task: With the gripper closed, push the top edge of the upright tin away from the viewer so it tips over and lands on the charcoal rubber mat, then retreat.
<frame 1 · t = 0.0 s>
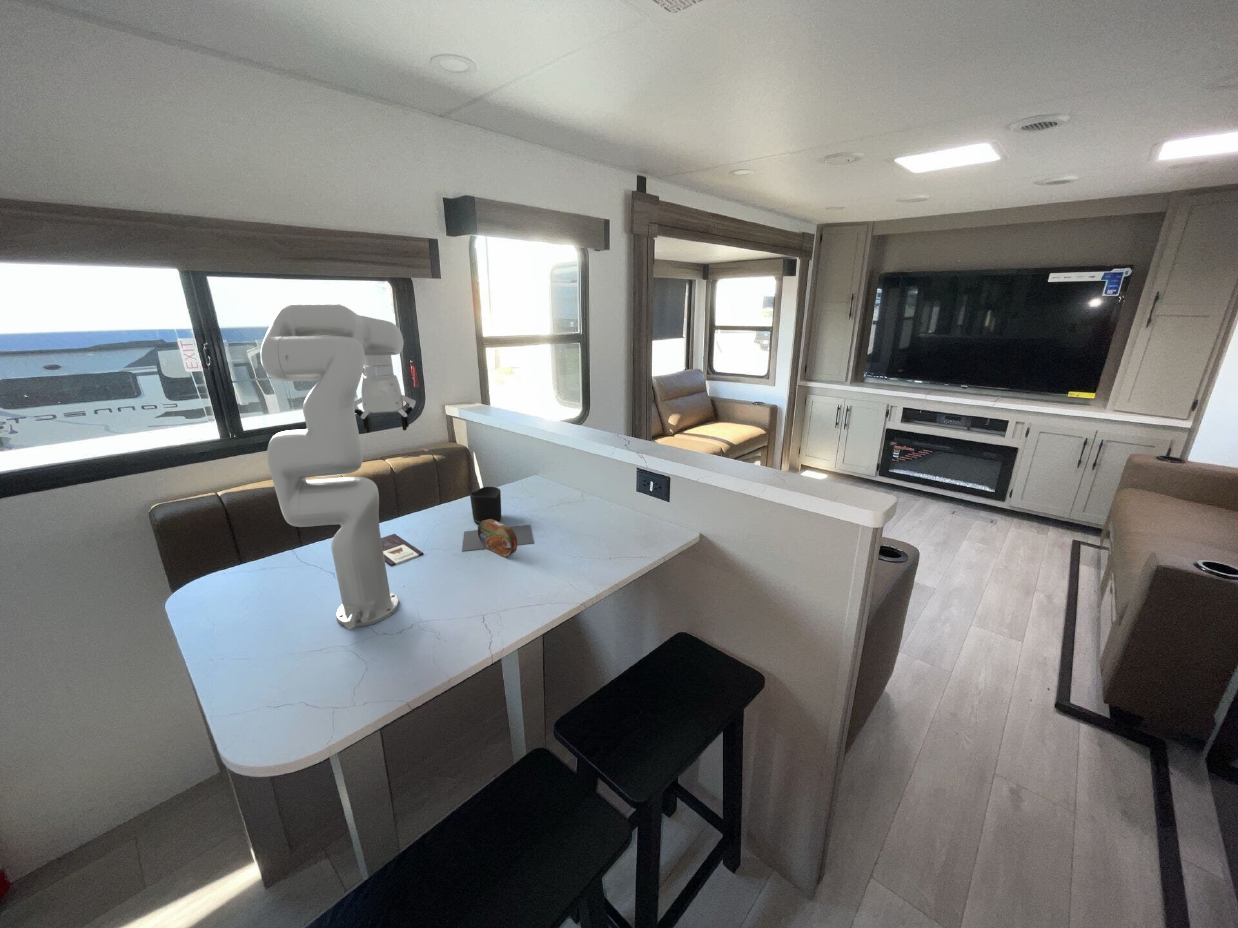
hand: (387, 430, 141), 31 cm above the table, fingers open, 9 cm apart
tin: (498, 550, 136), on the table, touching mat
mat: (498, 537, 144), on the table
pen holder: (487, 521, 156), on the table
chocolate bar: (393, 551, 137), on the table
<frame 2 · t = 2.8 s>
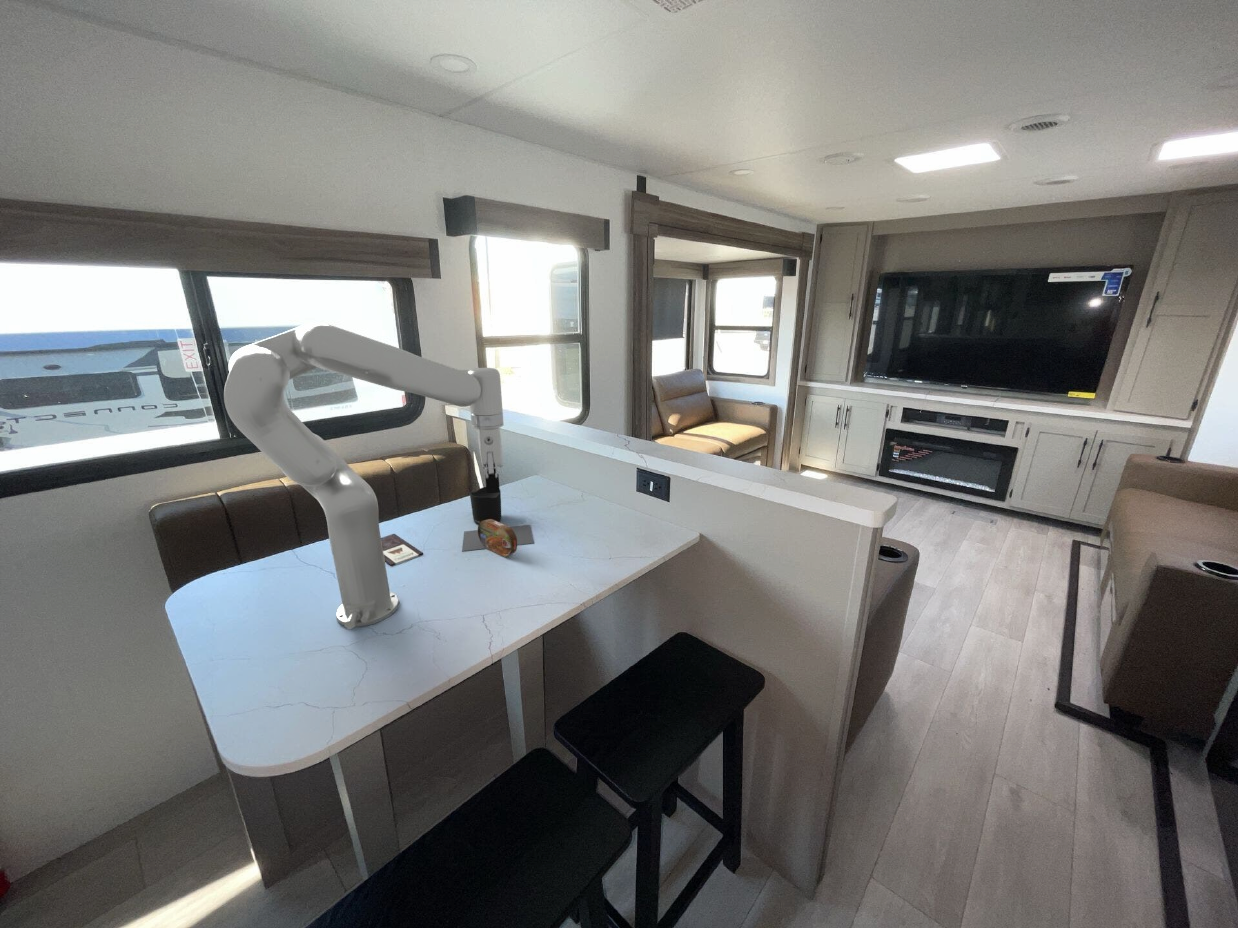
hand: (493, 490, 122), 21 cm above the table, fingers closed
nothing on the table moved.
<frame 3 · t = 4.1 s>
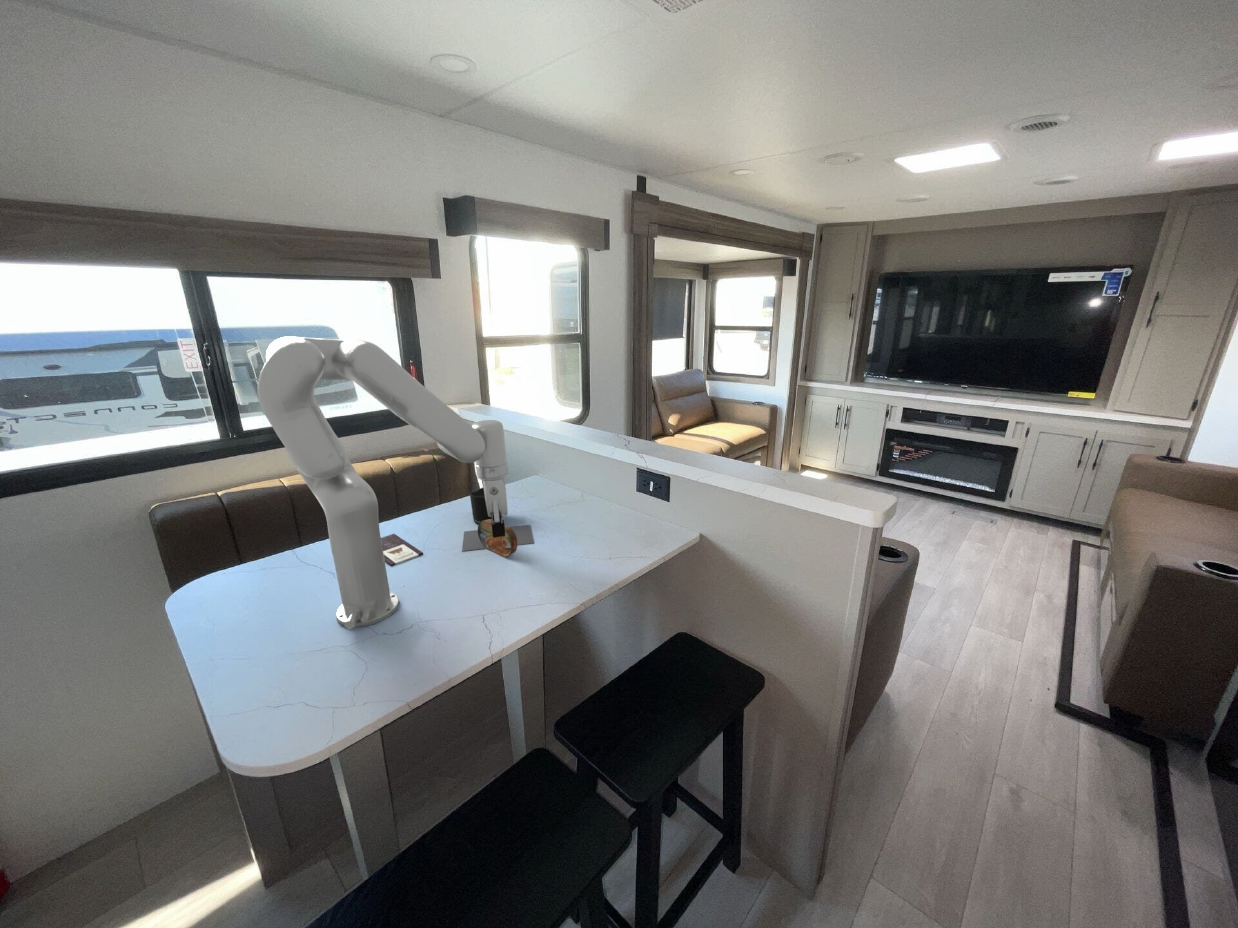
hand: (499, 535, 126), 8 cm above the table, fingers closed
nothing on the table moved.
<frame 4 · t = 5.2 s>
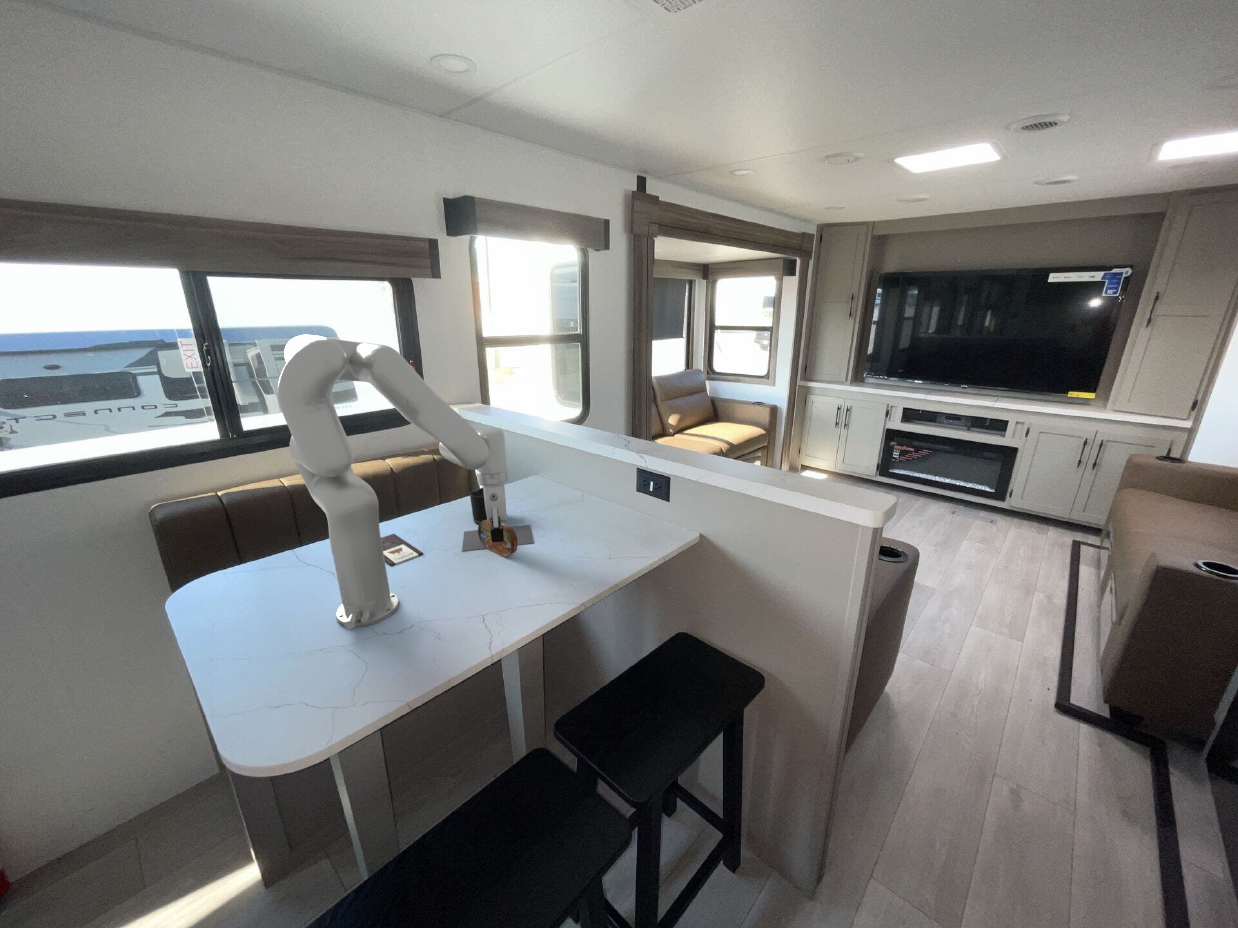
hand: (497, 540, 129), 6 cm above the table, fingers closed
tin: (498, 550, 136), on the table, touching gripper, mat
everything else where it was.
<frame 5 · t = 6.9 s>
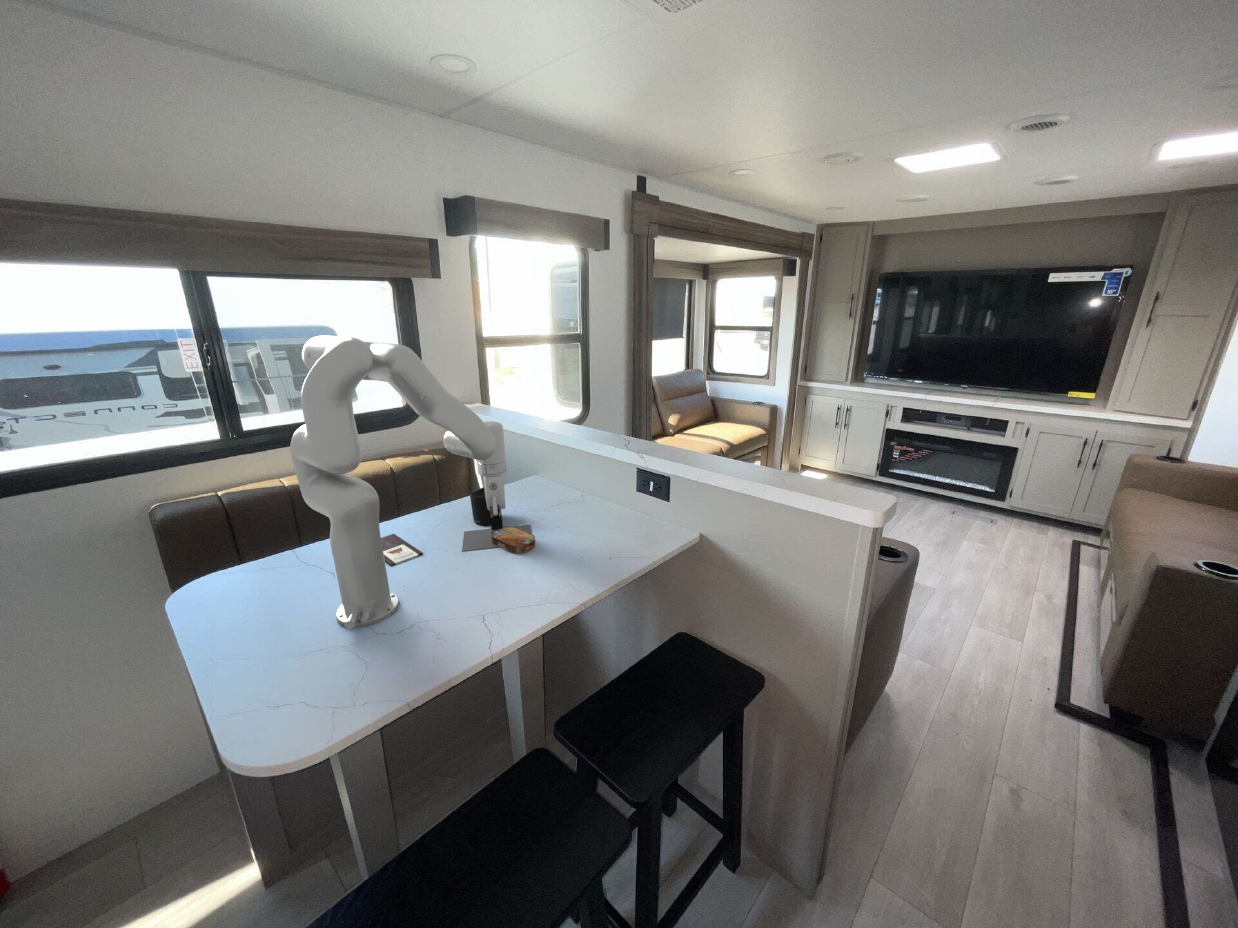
hand: (497, 528, 137), 6 cm above the table, fingers closed
tin: (500, 545, 136), point 1 cm above the table, touching mat
everything else where it was.
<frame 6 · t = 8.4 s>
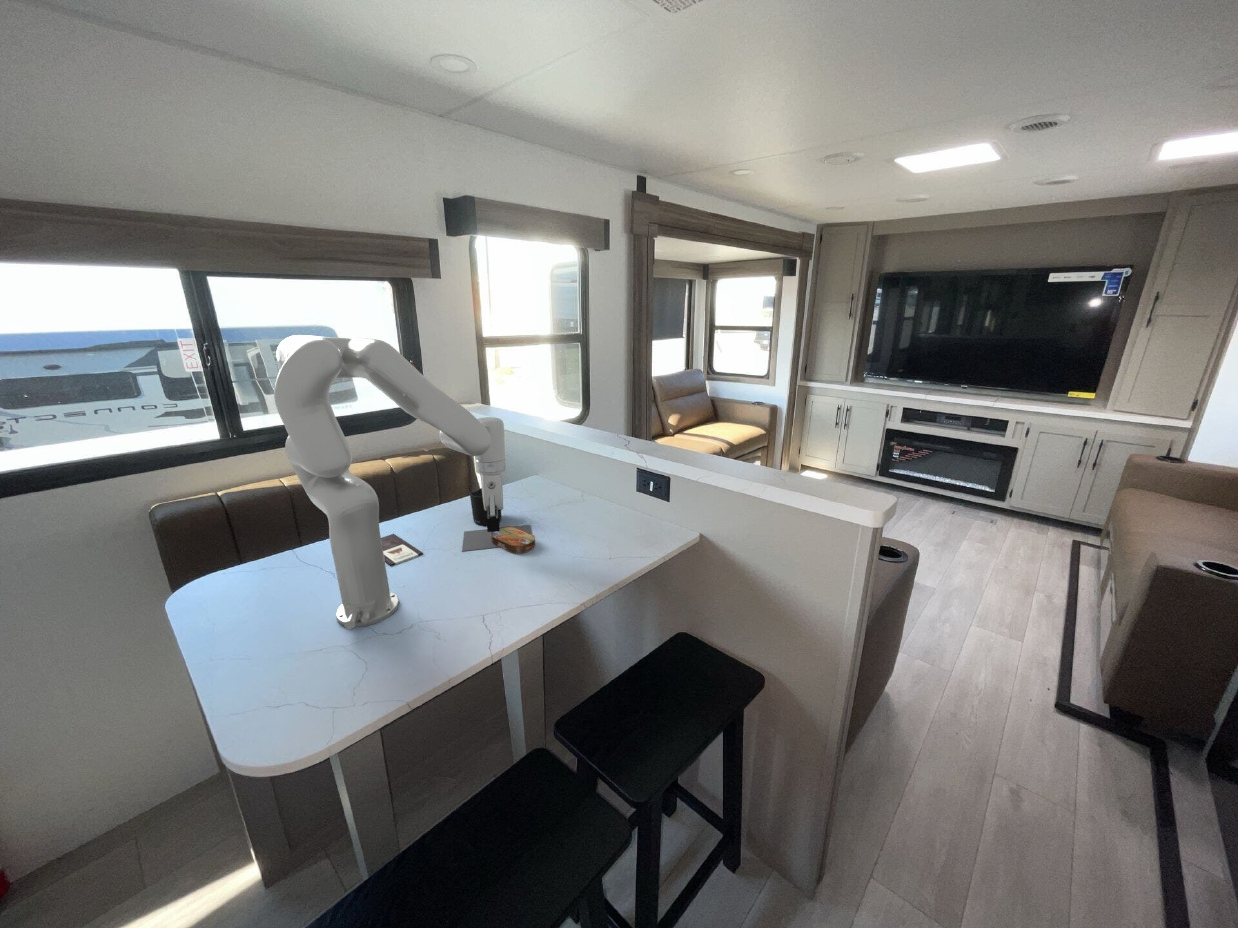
hand: (493, 530, 130), 8 cm above the table, fingers closed
nothing on the table moved.
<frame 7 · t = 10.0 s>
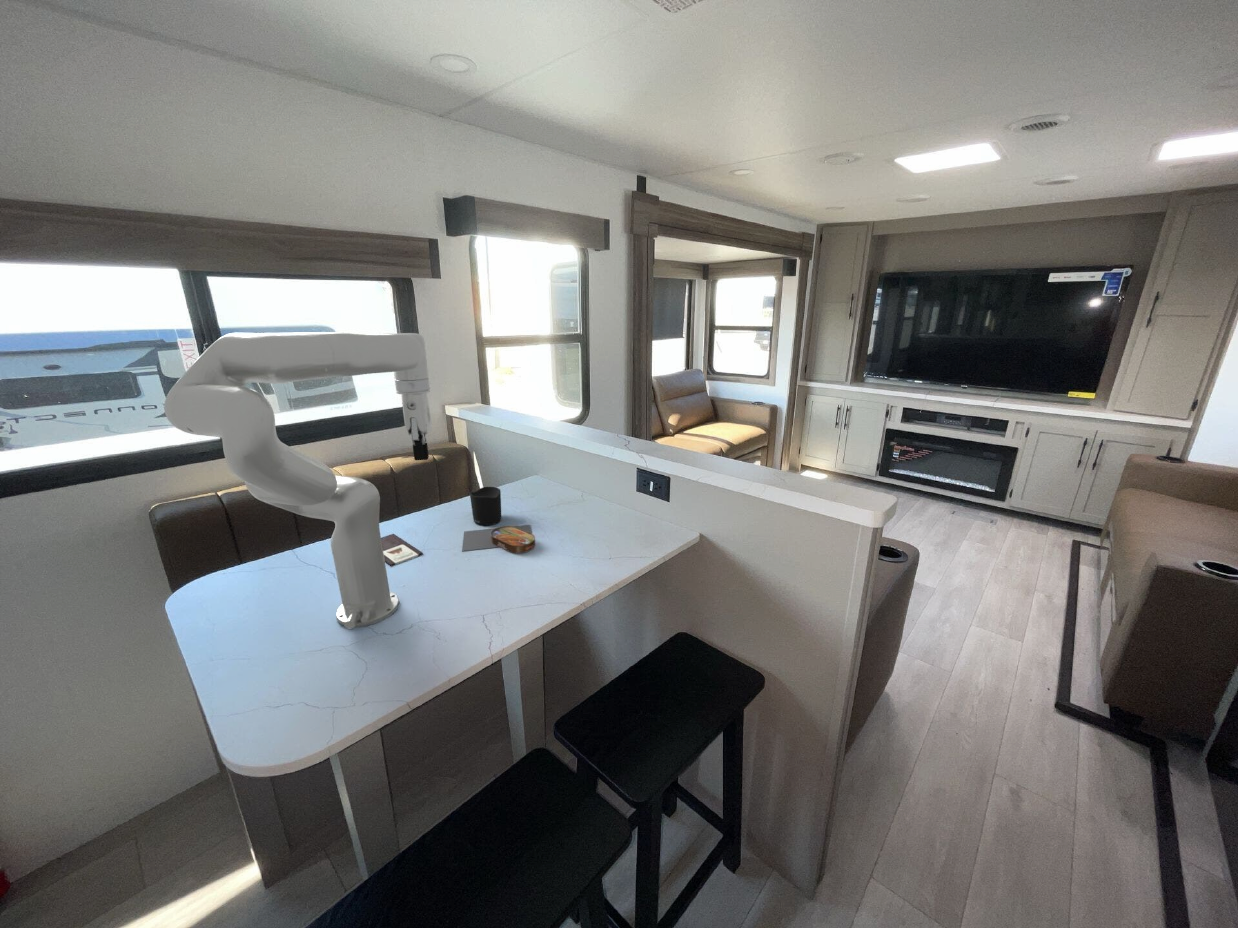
hand: (421, 459, 121), 29 cm above the table, fingers closed
nothing on the table moved.
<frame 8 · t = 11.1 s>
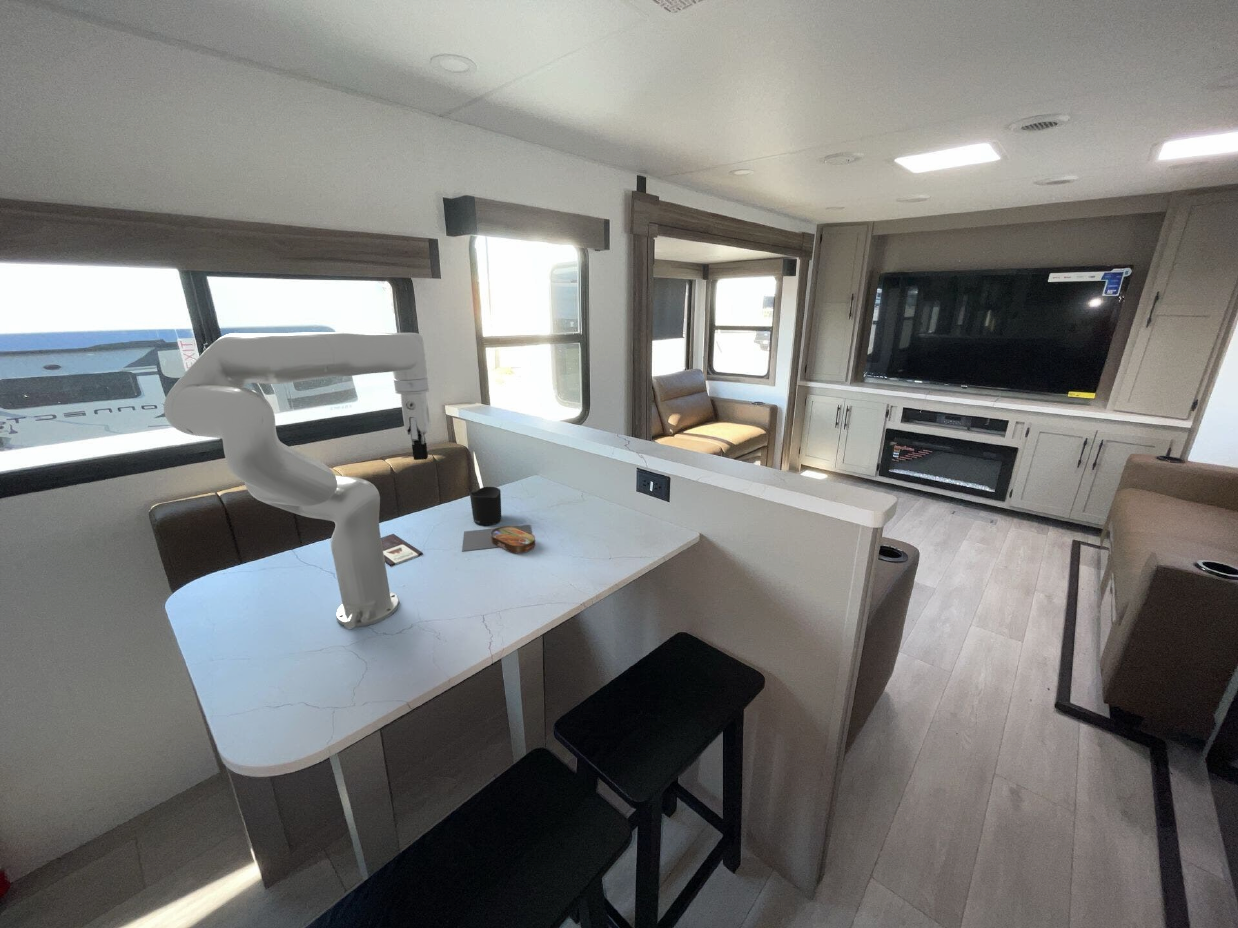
hand: (421, 458, 121), 29 cm above the table, fingers closed
nothing on the table moved.
at the end: tin tilted 86°; tin inside the target area (7.0 cm from its centre), point 1.2 cm above the table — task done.
